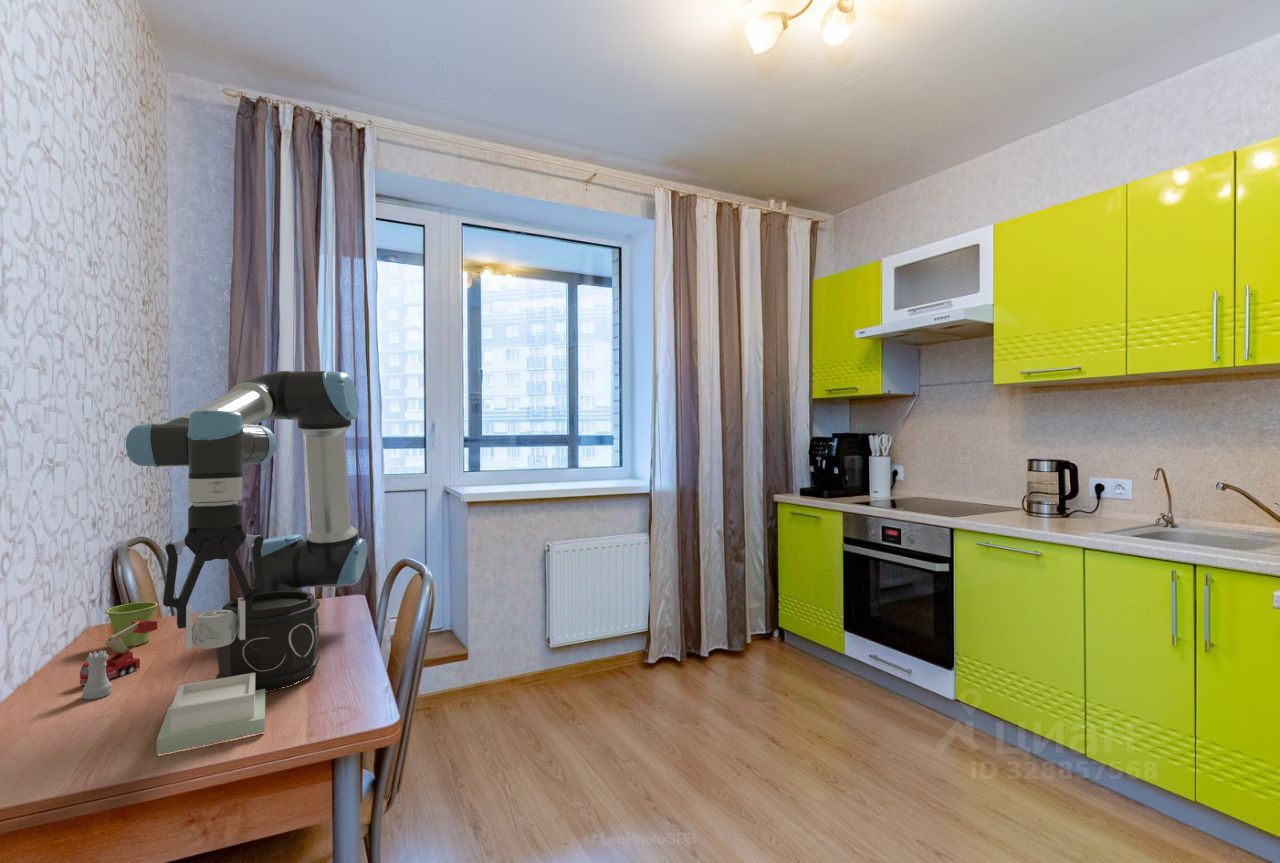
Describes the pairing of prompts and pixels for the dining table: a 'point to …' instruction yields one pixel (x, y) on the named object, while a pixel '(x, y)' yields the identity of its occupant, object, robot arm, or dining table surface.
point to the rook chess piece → (97, 677)
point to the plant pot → (131, 620)
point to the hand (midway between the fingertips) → (215, 642)
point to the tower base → (211, 730)
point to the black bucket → (274, 640)
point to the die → (215, 629)
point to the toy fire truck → (121, 652)
